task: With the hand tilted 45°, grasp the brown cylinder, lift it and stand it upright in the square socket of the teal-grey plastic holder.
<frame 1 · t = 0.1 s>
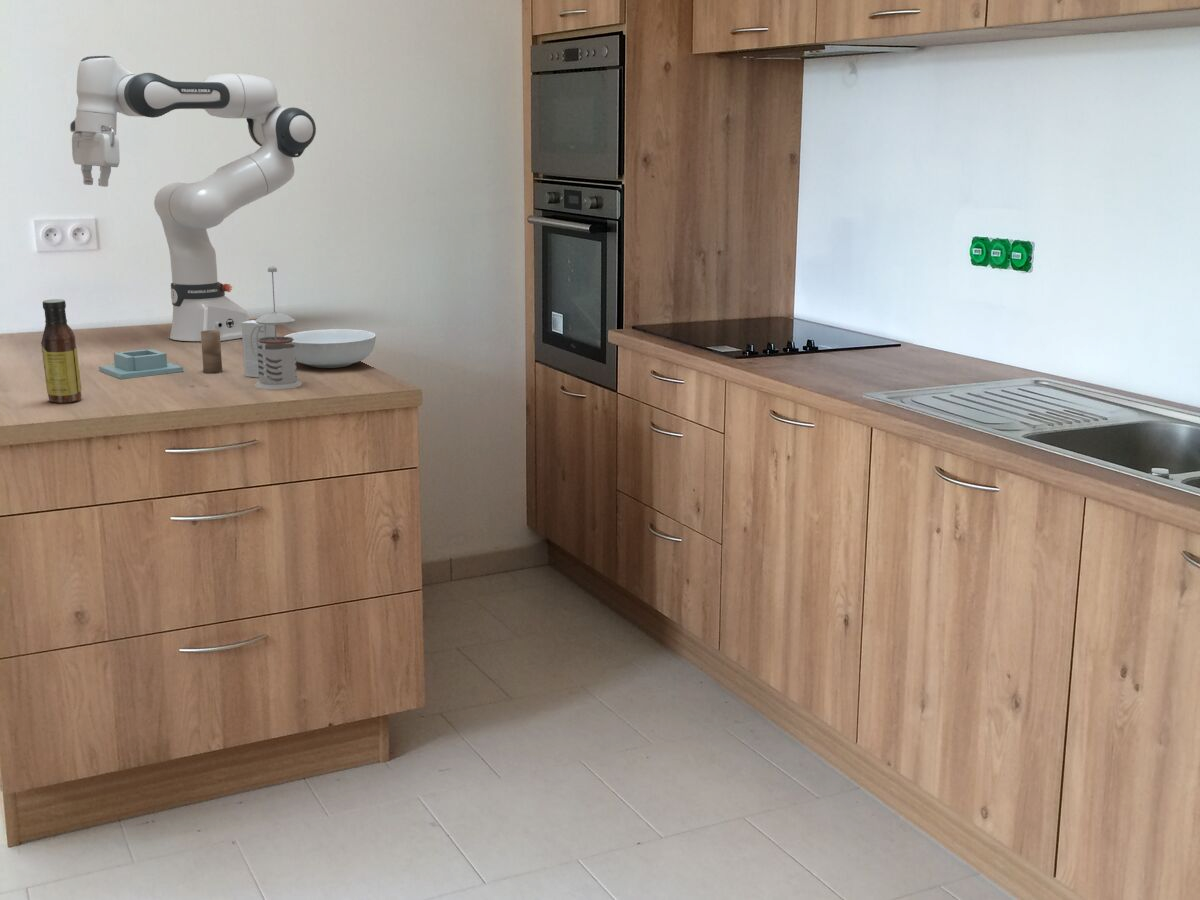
hand: (95, 185, 292), 39 cm above the worktop, tool pointing down, fingers open, 8 cm apart
serving bowl: (330, 365, 283), on the worktop
tube holder: (141, 371, 271), on the worktop
sauce bottle: (65, 401, 241), on the worktop
french press: (275, 385, 260), on the worktop
skincare box: (261, 376, 268), on the worktop
brown cylinder: (212, 371, 272), on the worktop
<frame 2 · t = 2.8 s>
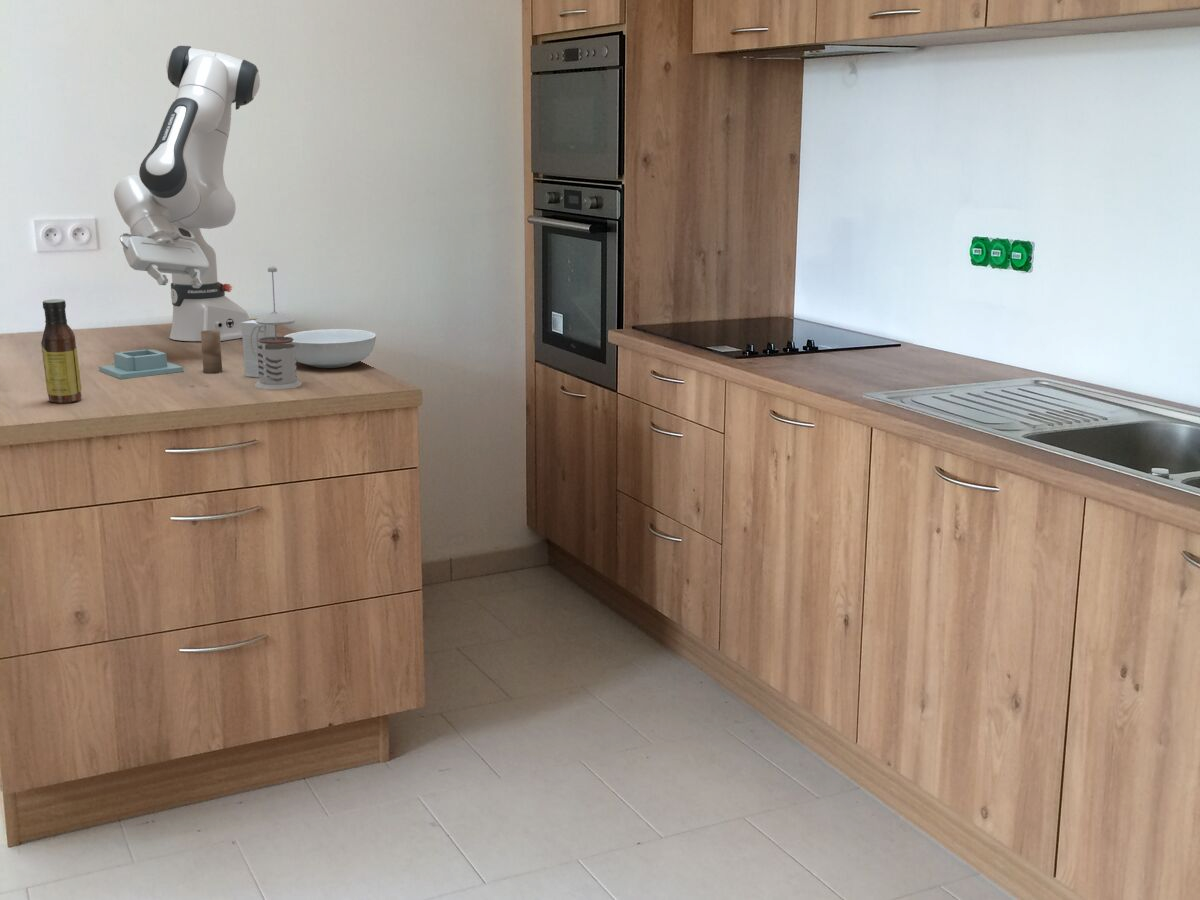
hand: (181, 285, 275), 18 cm above the worktop, tool tilted 45°, fingers open, 8 cm apart
nothing on the worktop moved.
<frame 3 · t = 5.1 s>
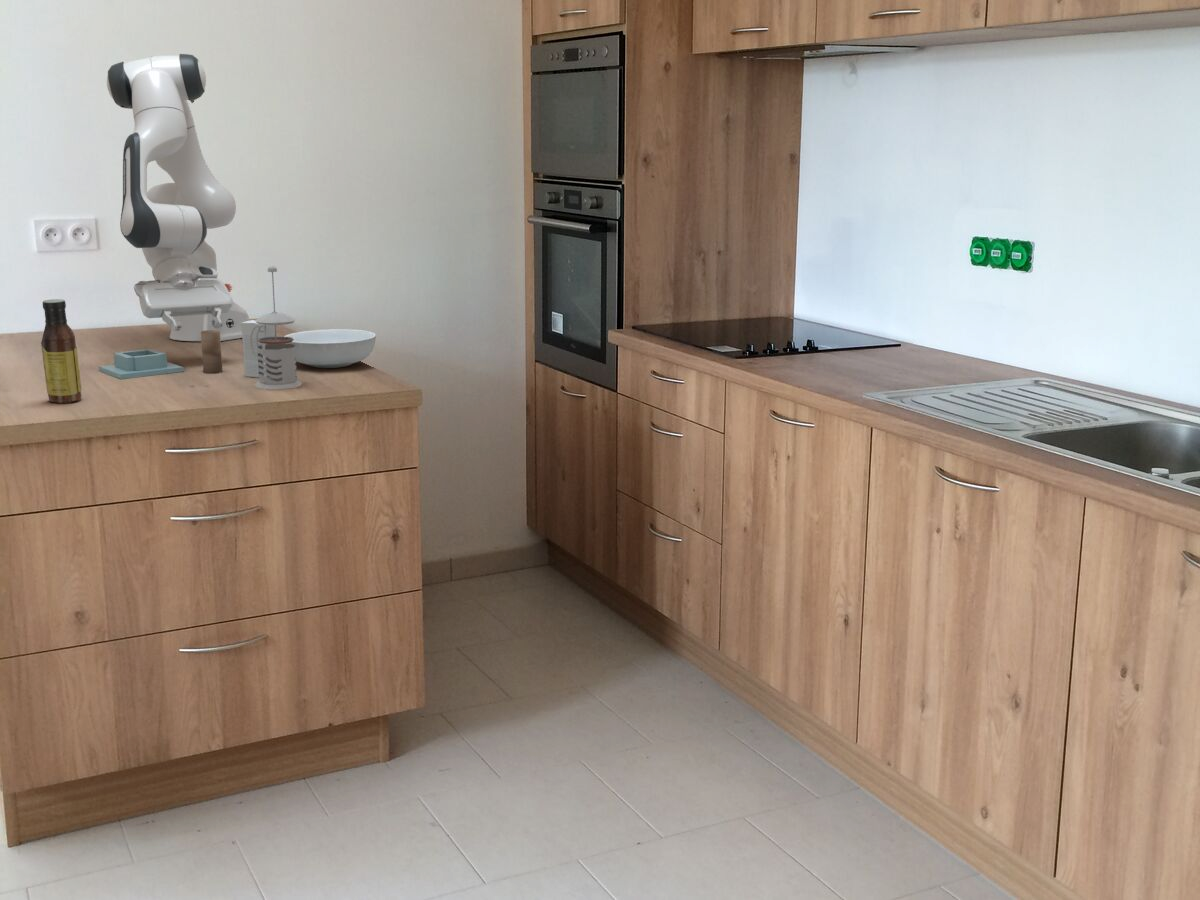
hand: (197, 327, 273), 9 cm above the worktop, tool tilted 45°, fingers open, 8 cm apart
nothing on the worktop moved.
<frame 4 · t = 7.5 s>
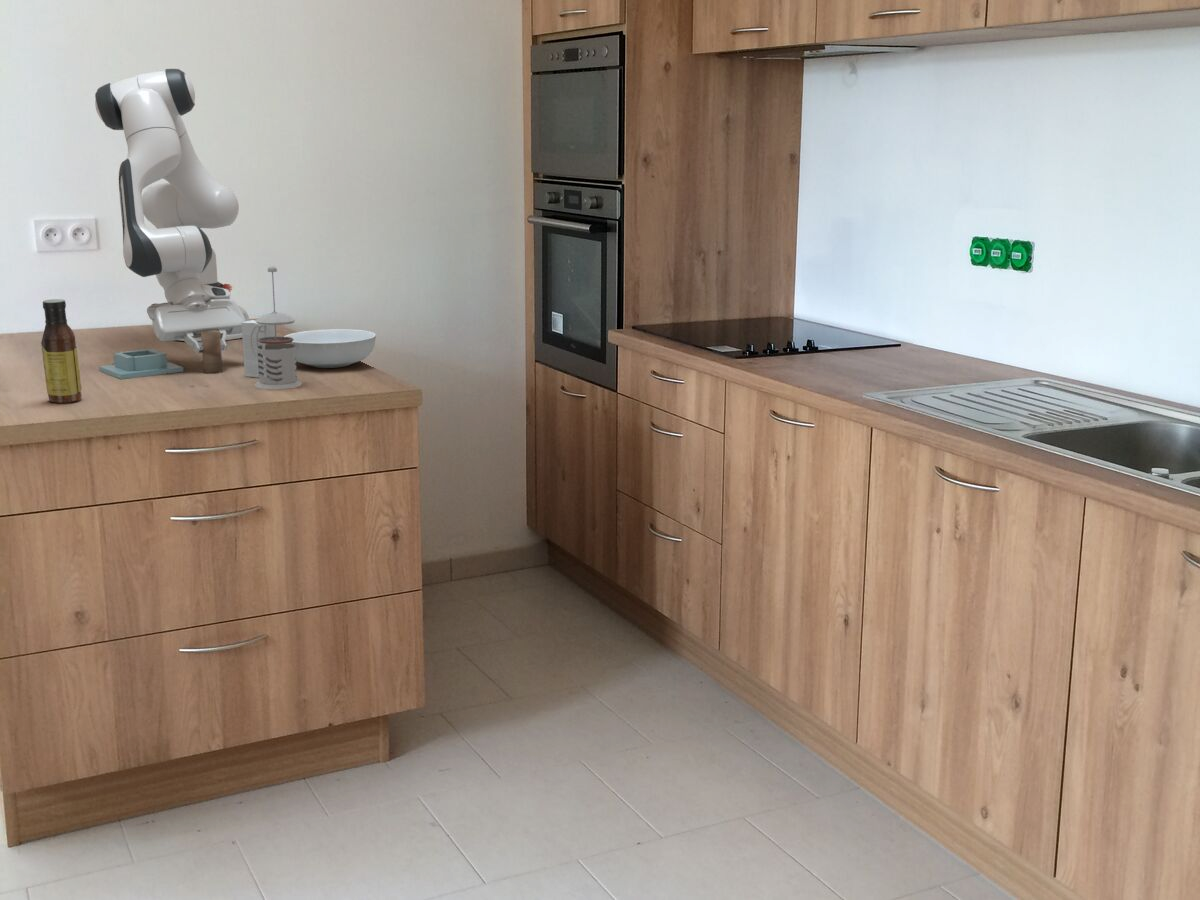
hand: (211, 350, 271), 5 cm above the worktop, tool tilted 45°, fingers closed on brown cylinder, 4 cm apart
brown cylinder: (212, 371, 272), on the worktop, touching gripper
everything else where it was.
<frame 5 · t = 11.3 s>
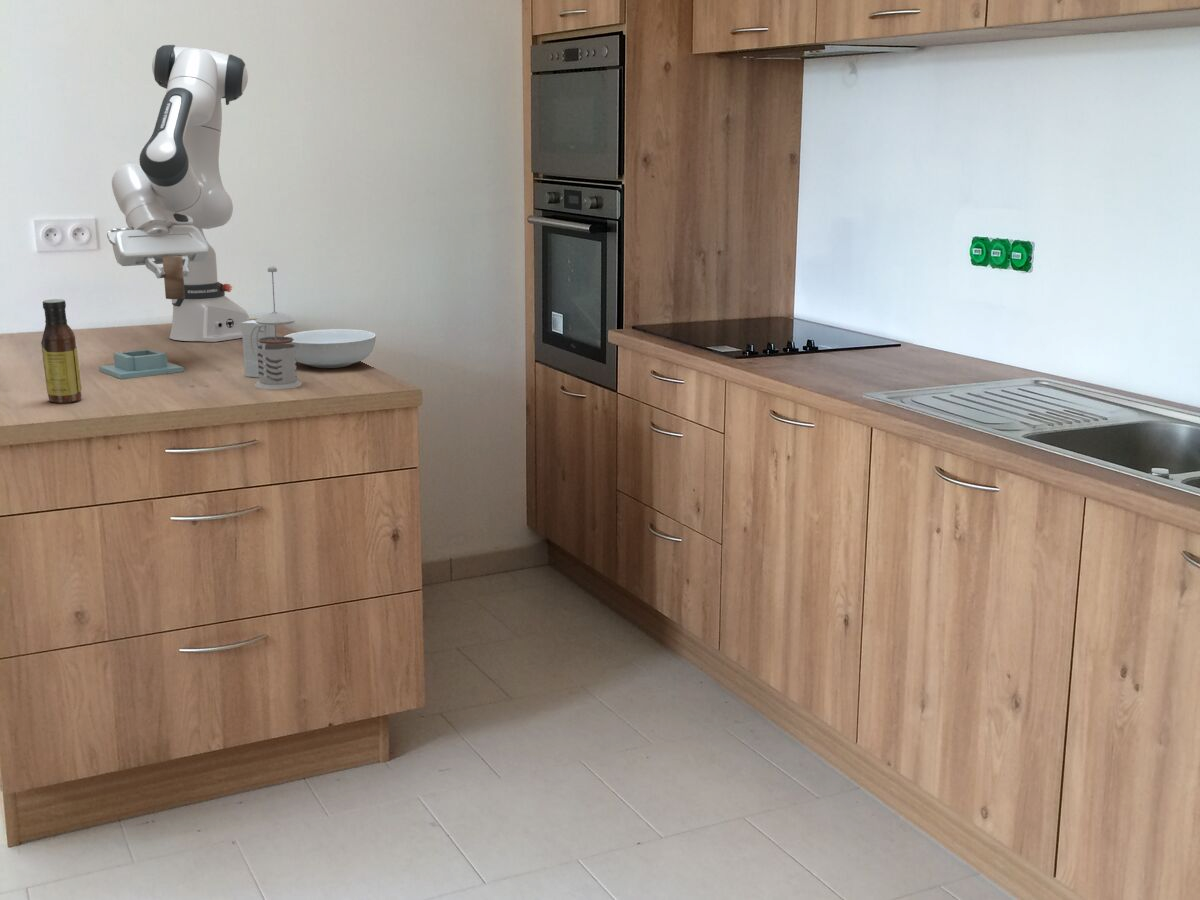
hand: (173, 275, 266), 21 cm above the worktop, tool tilted 45°, fingers closed on brown cylinder, 4 cm apart
brown cylinder: (175, 297, 268), point 16 cm above the worktop, touching gripper
everything else where it was.
when the fingers open (7 cm above the worktop, at t = 15.4 s): brown cylinder drops 2 cm, resting on tube holder.
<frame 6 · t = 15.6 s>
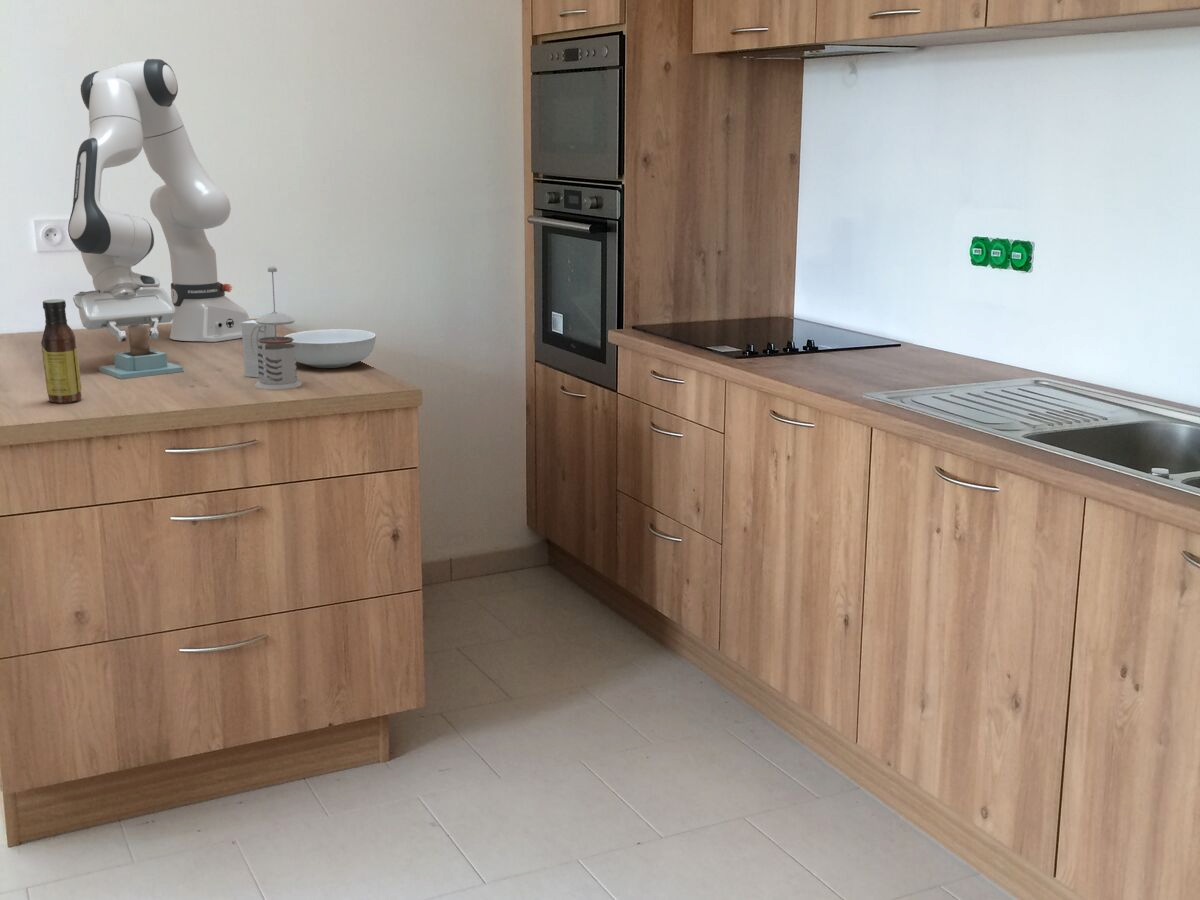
hand: (139, 338, 269), 7 cm above the worktop, tool tilted 45°, fingers open, 6 cm apart
brown cylinder: (141, 366, 271), point 1 cm above the worktop, touching tube holder
everything else where it was.
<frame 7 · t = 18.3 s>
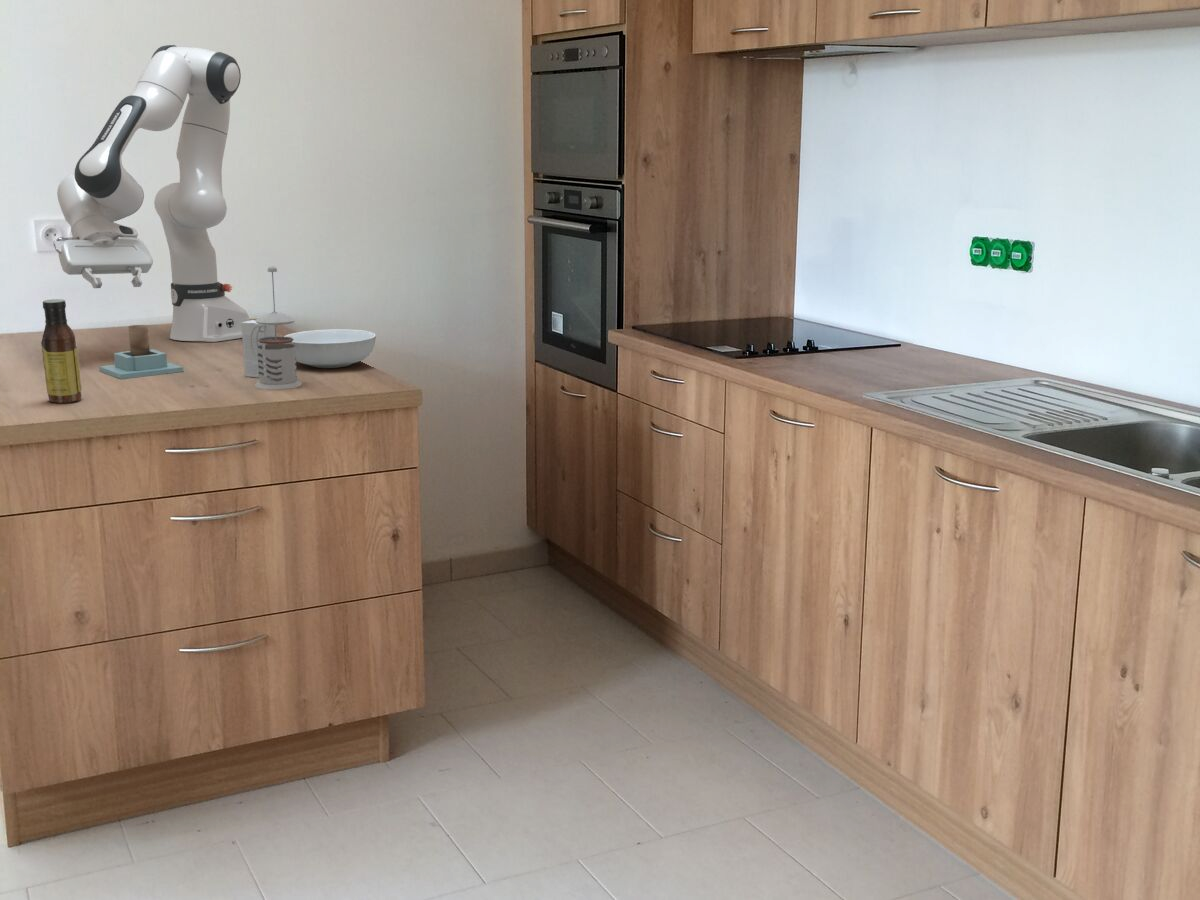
hand: (118, 286, 274), 18 cm above the worktop, tool tilted 45°, fingers open, 8 cm apart
nothing on the worktop moved.
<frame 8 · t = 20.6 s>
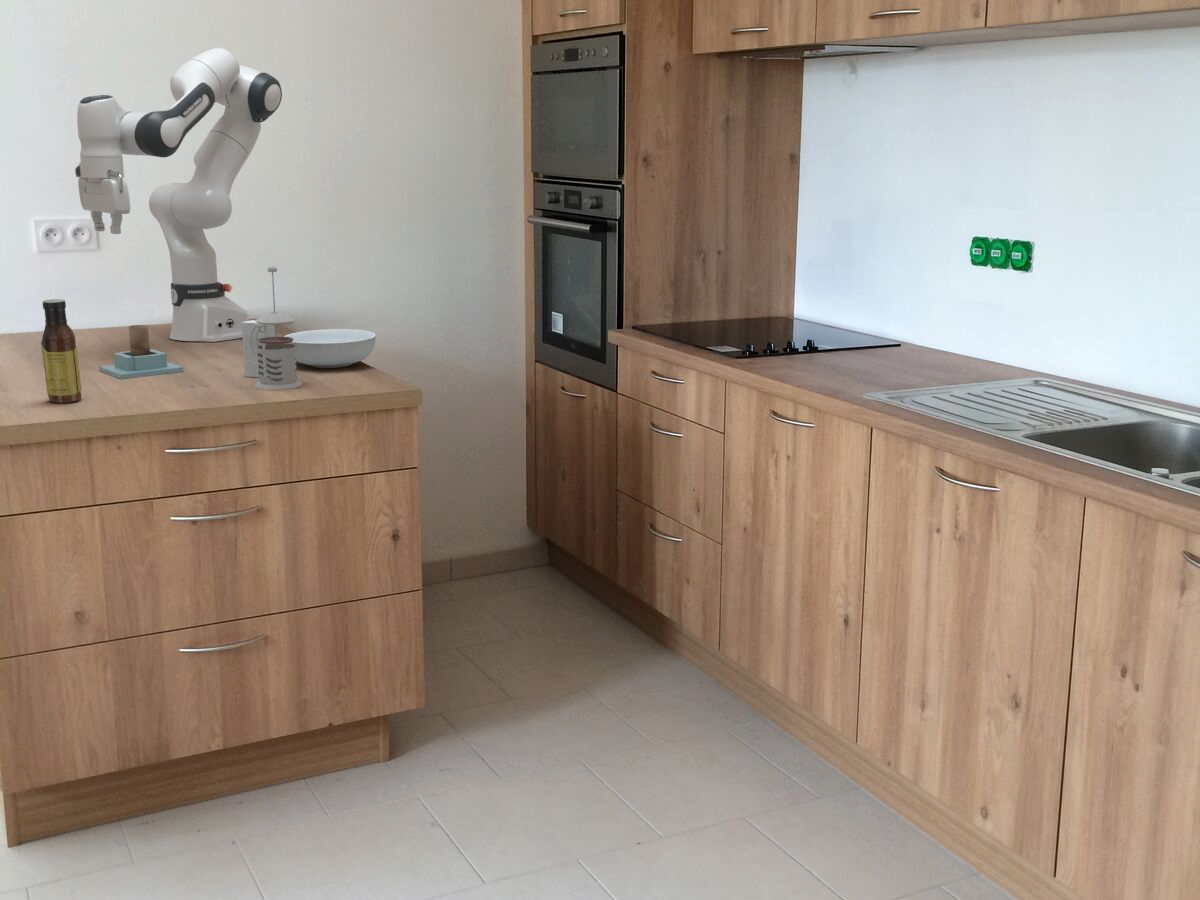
hand: (107, 232, 278), 29 cm above the worktop, tool pointing down, fingers open, 8 cm apart
nothing on the worktop moved.
at the end: brown cylinder 0.1 cm off-centre on the tube holder, point 1.0 cm above the tube holder's base; brown cylinder tilted 1°; the gripper is holding nothing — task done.
